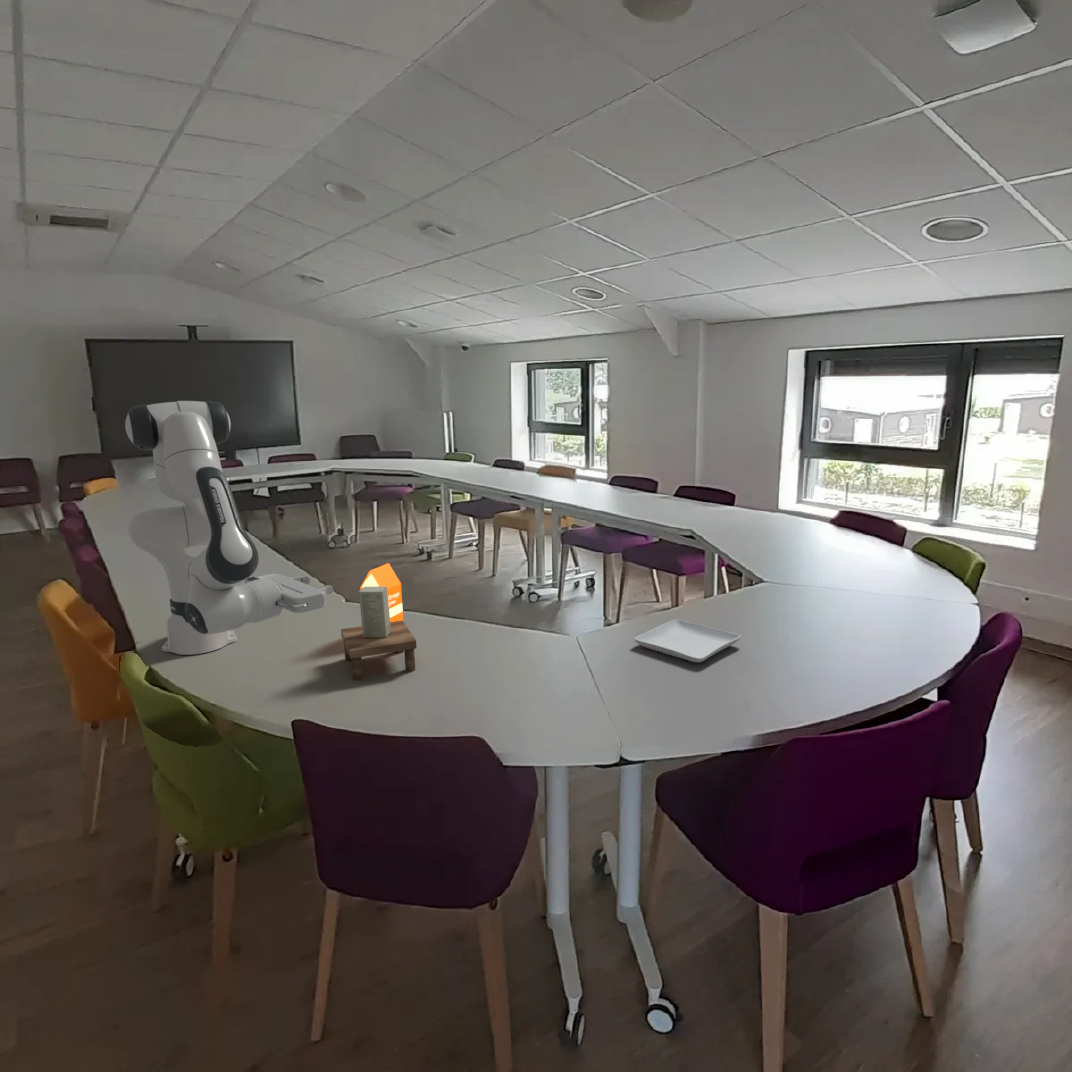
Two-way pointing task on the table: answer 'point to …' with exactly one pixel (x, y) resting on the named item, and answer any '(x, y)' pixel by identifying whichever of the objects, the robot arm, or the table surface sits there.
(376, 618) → the skincare box
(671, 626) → the salad plate
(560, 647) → the table surface
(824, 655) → the table surface
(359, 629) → the walnut stool
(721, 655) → the table surface
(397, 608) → the orange juice
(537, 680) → the table surface
